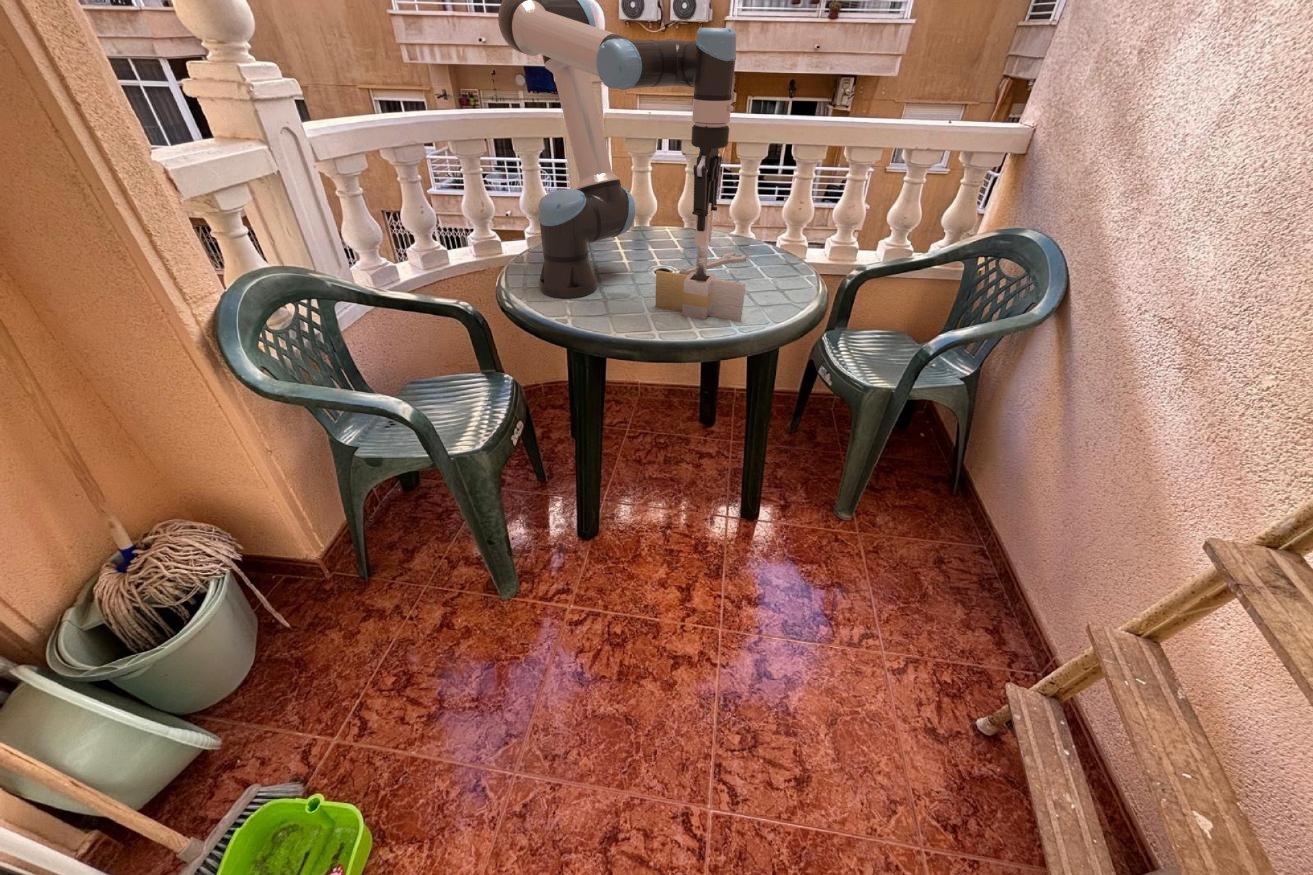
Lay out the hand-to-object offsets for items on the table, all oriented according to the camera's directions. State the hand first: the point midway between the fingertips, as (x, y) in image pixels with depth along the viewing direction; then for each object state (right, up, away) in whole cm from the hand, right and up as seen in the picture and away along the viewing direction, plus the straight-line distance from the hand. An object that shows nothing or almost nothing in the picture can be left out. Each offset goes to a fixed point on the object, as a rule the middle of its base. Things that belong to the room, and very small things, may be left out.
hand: (702, 242), depth 121 cm
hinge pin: (0, -6, +4) cm, 8 cm away
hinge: (0, -14, +10) cm, 17 cm away
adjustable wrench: (+6, +7, +39) cm, 40 cm away
